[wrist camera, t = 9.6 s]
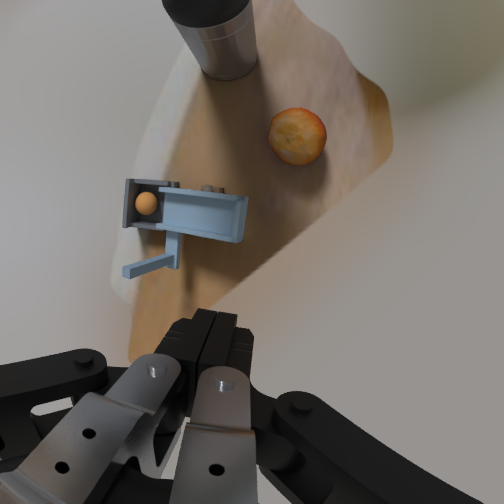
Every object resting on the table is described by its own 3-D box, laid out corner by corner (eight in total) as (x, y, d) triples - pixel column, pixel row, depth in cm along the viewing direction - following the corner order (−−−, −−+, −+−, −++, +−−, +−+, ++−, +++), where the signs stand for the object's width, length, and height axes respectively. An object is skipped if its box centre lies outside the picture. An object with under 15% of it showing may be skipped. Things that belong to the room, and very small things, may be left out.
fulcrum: (206, 184, 44) (198, 184, 38) (223, 186, 44) (217, 186, 38) (201, 231, 45) (193, 237, 40) (218, 233, 45) (211, 239, 40)
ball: (159, 192, 44) (137, 190, 43) (157, 193, 41) (134, 191, 40) (157, 214, 45) (136, 212, 44) (155, 217, 42) (132, 215, 41)
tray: (139, 179, 44) (126, 178, 39) (178, 182, 44) (168, 181, 39) (136, 223, 46) (122, 227, 41) (174, 228, 45) (163, 232, 41)
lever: (169, 187, 40) (119, 186, 31) (248, 196, 37) (211, 196, 27) (163, 264, 43) (115, 281, 33) (238, 283, 39) (200, 309, 30)
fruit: (344, 146, 40) (329, 152, 34) (301, 167, 45) (279, 177, 39) (317, 99, 39) (298, 96, 33) (277, 123, 44) (251, 126, 38)
